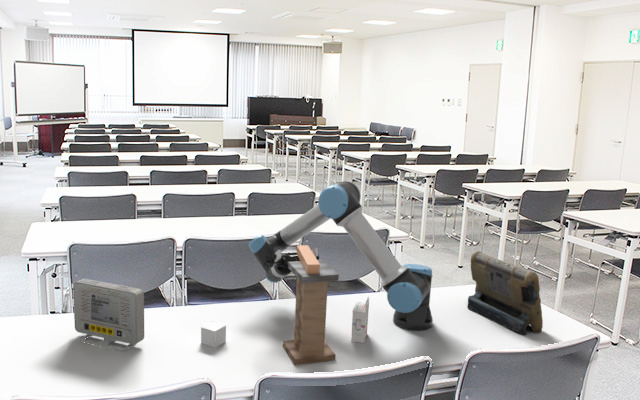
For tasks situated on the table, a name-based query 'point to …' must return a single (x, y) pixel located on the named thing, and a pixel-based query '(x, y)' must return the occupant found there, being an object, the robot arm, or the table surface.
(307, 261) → the bar
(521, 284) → the tablet
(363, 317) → the ink cartridge box
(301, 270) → the wooden pedestal stand
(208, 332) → the white cube
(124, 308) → the network device
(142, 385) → the table surface
